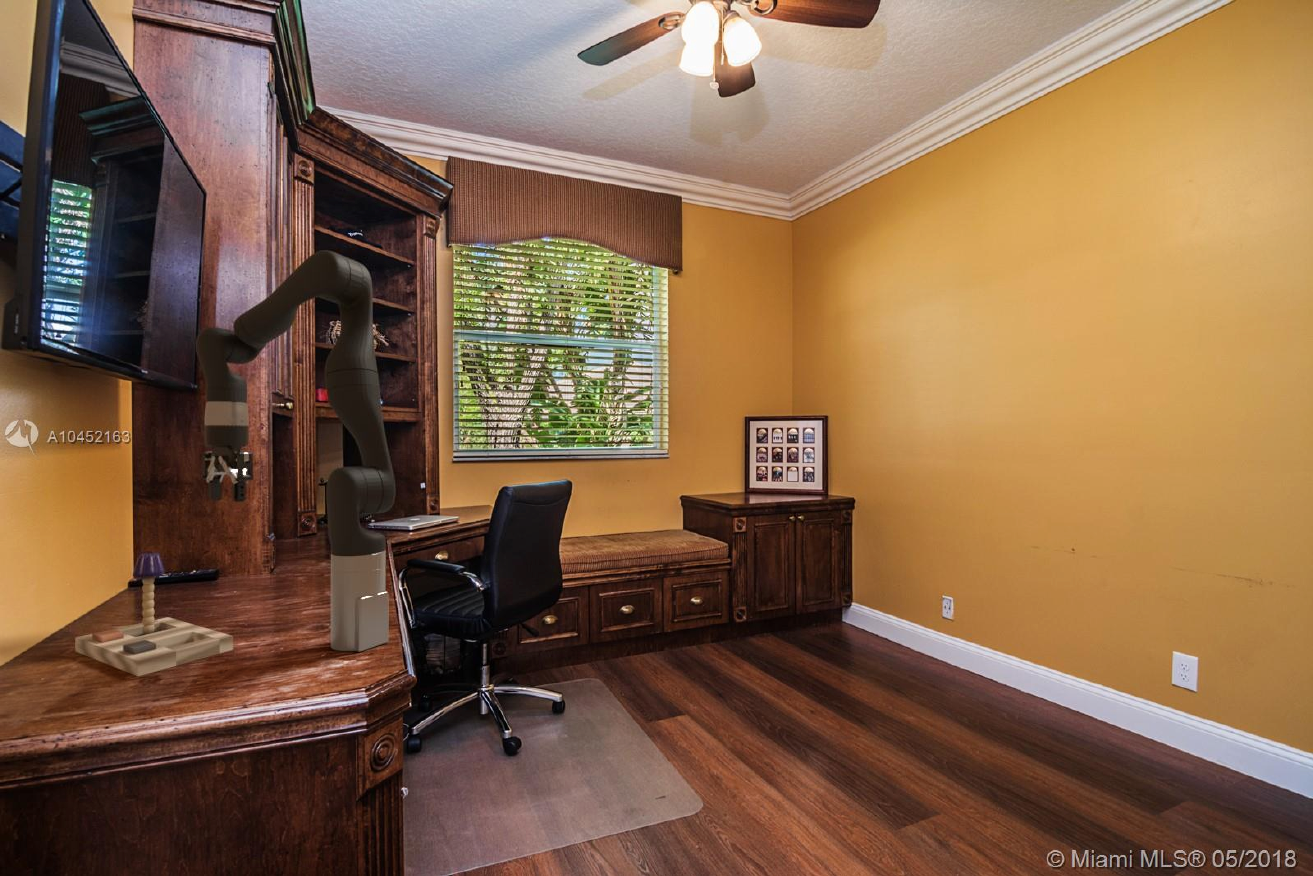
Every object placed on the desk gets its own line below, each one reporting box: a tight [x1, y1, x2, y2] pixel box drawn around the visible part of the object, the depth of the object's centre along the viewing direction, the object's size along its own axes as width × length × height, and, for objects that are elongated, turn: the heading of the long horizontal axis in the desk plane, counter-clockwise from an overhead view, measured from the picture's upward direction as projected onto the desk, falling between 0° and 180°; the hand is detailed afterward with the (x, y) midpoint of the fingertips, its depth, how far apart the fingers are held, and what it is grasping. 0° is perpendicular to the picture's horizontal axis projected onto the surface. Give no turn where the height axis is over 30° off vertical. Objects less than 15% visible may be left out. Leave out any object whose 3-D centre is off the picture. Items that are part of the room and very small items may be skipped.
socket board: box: [74, 616, 234, 677], centre depth 108 cm, size 24×14×4 cm, turn 62°
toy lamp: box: [132, 552, 166, 637], centre depth 113 cm, size 5×5×17 cm
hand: (227, 501), depth 126 cm, fingers open, 8 cm apart
